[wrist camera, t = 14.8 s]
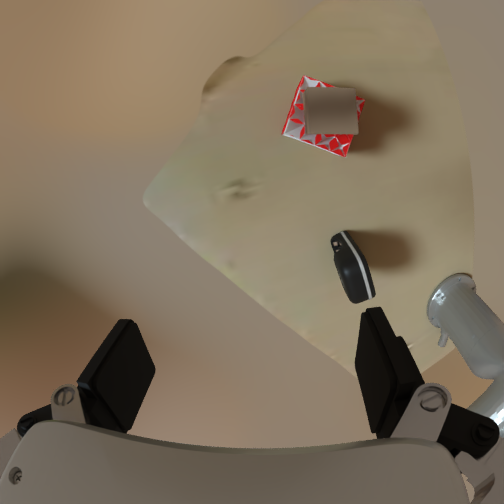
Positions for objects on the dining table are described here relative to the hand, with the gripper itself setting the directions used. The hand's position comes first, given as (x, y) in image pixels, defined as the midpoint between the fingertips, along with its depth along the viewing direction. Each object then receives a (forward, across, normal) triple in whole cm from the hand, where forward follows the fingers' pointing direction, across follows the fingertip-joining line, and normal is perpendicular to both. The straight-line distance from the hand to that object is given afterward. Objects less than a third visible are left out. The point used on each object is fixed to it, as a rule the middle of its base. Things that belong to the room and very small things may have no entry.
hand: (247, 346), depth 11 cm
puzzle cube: (+34, -8, -10) cm, 36 cm away
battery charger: (+34, -11, +11) cm, 37 cm away
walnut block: (+26, -8, -10) cm, 29 cm away
